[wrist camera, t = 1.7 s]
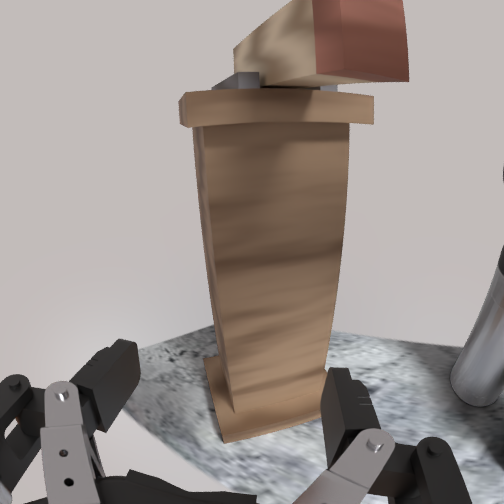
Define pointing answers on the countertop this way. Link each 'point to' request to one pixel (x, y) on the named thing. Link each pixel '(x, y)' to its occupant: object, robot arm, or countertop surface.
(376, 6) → the maple bar
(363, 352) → the countertop surface
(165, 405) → the countertop surface
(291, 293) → the walnut stand
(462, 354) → the robot arm
